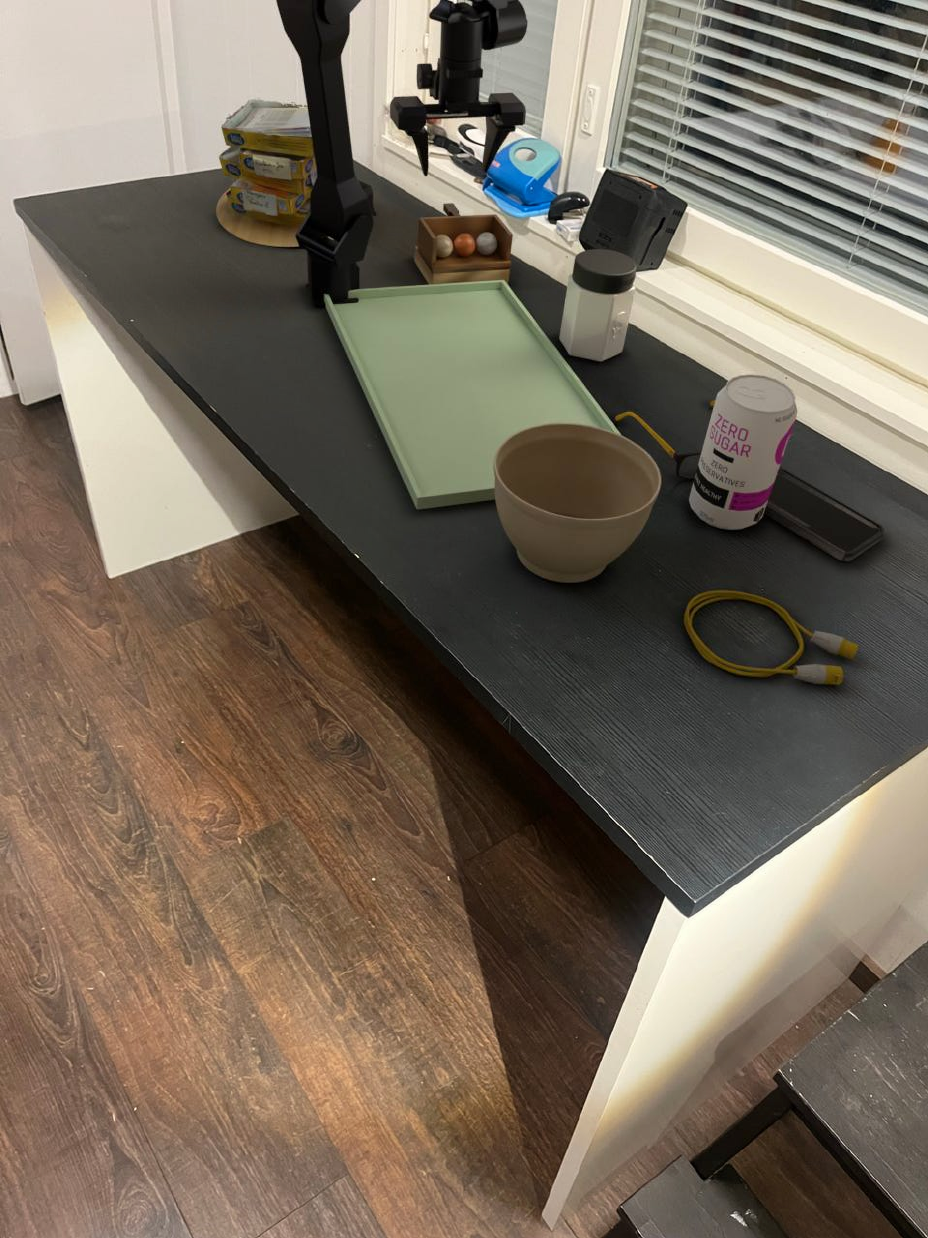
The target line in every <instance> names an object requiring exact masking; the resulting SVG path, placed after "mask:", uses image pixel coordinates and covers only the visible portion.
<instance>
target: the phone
mask: <svg viewBox="0 0 928 1238" xmlns="http://www.w3.org/2000/svg"><path fill="white" fill-rule="evenodd" d="M763 515H765V516H767V517H769V518H770V519H772V520H773V521H775V522H777V523H778V524H780V525H782V527H784V528H786V529H787V530H790V531H791V532H793V533H794V534H796V535H797V536H799V537H801V538H803V539H804V540H806V541H807V542H809V543H810V544H812V545H813V546H816V547H817V548H819V549H820V550H822V552H823V551H824V552H825V553H827V554H828V555H830V556H831V557H833V558H835V559H836V560H838V561H840V562H851V561H854V560H855V559H857V558H858V557H859V556H861V555H862V554H863V553H865V552H866V551H868V550H870V549H871V548H873V547H874V546H875V545H876V544H878V543H880V542H881V540H882V538H883V536H884V534H885V529H884V527H883V526H882V525H880V524H879V523H877V522H876V521H874V520H872V519H870V518H869V517H867V516H865V515H863V514H862V513H860V512H858V511H856V510H855V509H853V508H852V507H849V506H848V505H847V504H844V503H843V502H841V501H840V500H838V499H836V498H834V497H833V496H832V495H829V494H827V493H826V492H824V491H823V490H821V489H819V488H817V487H815V486H814V485H812V484H811V483H809V482H807V481H805V480H804V479H802V478H800V477H798V476H797V475H795V474H794V473H792V472H790V471H788V470H786V469H785V468H783V467H781V466H780V467H779V470H778V473H777V475H776V478H775V481H774V484H773V487H772V490H771V493H770V496H769V499H768V502H767V505H766V507H765V510H764V513H763Z"/></svg>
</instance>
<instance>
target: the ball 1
mask: <svg viewBox="0 0 928 1238" xmlns="http://www.w3.org/2000/svg"><path fill="white" fill-rule="evenodd" d="M436 238H437V248H436V256H437V257H439V258H445V257H447V256H449V255H450V253H451V252H452V249H453V244H452V241H451V239H450V238H449V237H448V236H446V235H438V236H436Z"/></svg>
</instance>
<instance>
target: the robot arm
mask: <svg viewBox="0 0 928 1238" xmlns="http://www.w3.org/2000/svg"><path fill="white" fill-rule="evenodd" d="M275 1H276V6H277V10H278V13H279V17H280V20H281V23H282V26H283V30H284V32H285V34H286V36H287V38H288V39H289V41H290V43H291V45H292V46H293V48H294V50H295V52H296V54H297V55H298V57H299V61H300V67H301V73H302V74H301V75H302V81H303V87H304V94H305V100H306V106H307V107H306V108H308V115H309V121H310V128H311V135H312V142H313V149H314V155H315V162H316V169H317V178H316V180H315V183H314V185H313V188H312V190H311V193H310V212H309V213H308V215H307V216H306V218H305V220H304V221H303V223H302V224H301V226H300V228H299V229H298V231H297V233H296V235H295V237H296V239H297V242H298V245H299V246H298V247H299V248H300V249H304V250H305V251H306V262H307V265H306V266H307V283H306V284H305V290H306V292H307V294H308V297H309V299H310V301H311V304H312V306H313V307H315V308H320V307H325V306H326V303H325V301H324V294H327V295H329V297H330V299H331V301H332V303H333V304H347V303H358V302H359V299H358V298H348V292H349V291H350V290H355V289H360V265H359V264H358V263H359V262H361V261H362V262H363V261H364V259H365V256H366V252H367V249H368V248H367V247H368V244H369V240H370V236H371V233H372V232H373V228H374V217H376V216H377V213H376V210H375V207H374V191H373V190H374V189H373V187H372V185H370V184H369V183H366V182H364V181H362V180H360V179H358V177H357V175H356V173H355V166H354V155H353V148H352V140H351V139H352V138H351V132H350V131H351V129H350V122H349V114H348V105H347V98H346V89H345V88H346V87H345V79H344V70H343V63H342V62H343V61H342V55H343V52H344V50H345V47H346V44H347V41H348V39H349V36H350V33H351V32H350V31H351V13H352V12H353V11H354V10H355V8H356V7H357V6H358V5H359V3H361V1H362V0H275ZM467 1H468V2H471V4H470V3H468V2H465V1H459V2H454V1H453V0H439V2H438V3H437V5H436V6H435V7H433V8H432V9H431V11H430V12H429V14H428V18H429V19H430V20H433V21H436V22H439V23H440V39H439V41H440V42H439V57H437V61H436V69H433V65H432V63H430V62H428V63H417V64H416V87H417V90H428V92H429V97H430V98H432V99H433V100H434V101H438V102H437V103H424V102H423V101H422V100H421V99H420V97H419V96H418V95H407V96H406V95H405V96H394V97H392V100H391V101H390V103H389V118H390V119H391V121H392V122H393V124H394V125H395V127H397V130H400V131H403V132H404V133H405V135H406V136H408V137H411V140H412V142H413V144H414V147H415V149H416V154H417V157H418V161H419V164H420V168H421V171H422V174H423V176H424V177H428V174H429V165H430V164H429V163H430V162H429V158H430V156H429V155H430V154H429V131H428V130H427V129H426V127H425V126H426V125H427V121H428V120H448V119H469V118H470V119H471V118H475V119H476V118H485V128H486V132H485V139H484V146H483V152H482V153H483V154H482V172H483V173H484V174H487V173H488V172H489V169H490V168H491V166H492V164H493V162H494V160H495V157H496V156H497V154H498V152H499V150H500V149H501V147H502V145H503V143H504V142H505V141H506V139H507V137H508V136H509V134H510V133H513V132H516V130H517V126H524V125H526V118H527V117H526V116H527V109H526V105H525V104H524V102H523V101H521V99H520V98H518V97H517V95H516V94H515V93H514V92H496V93H495V92H494V93H493V92H490V94H489V96H488V98H487V101H480V88H481V79H483V77H484V69H483V68H482V53H483V51H492V50H495V49H499V48H500V49H501V48H503V47H504V48H505V47H508V46H512V45H517V44H519V43H520V42H521V41H523V39H524V38H525V36H526V33H527V30H528V22H529V21H528V19H527V14H526V10H525V8H524V6H523V4H522V3H521V1H520V0H467ZM328 237H330V238H332V239H334V240H332V239H330V238H328Z"/></svg>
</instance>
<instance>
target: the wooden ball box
mask: <svg viewBox="0 0 928 1238" xmlns="http://www.w3.org/2000/svg"><path fill="white" fill-rule="evenodd" d="M442 210H443V212H444V213H445V215H446V216H428V217H427V216H426V217H418V225H417V226H418V227H417V228H418V229H417V246H418V248H417V251H418V252H419V254H420V256H421V257H422V259H423V260H424V262H425V263H426V265H427V266H428V268H429V269H430V271H431V273H432V274H442V273H458V272H475V271H491V270H507V269H510V270H511V269H512V261H511V254H512V248H513V247H512V246H513V236H514V234H513V233H512V231H511V230H510V229H509V228H508V227H507V226H506V224H505V223H504V222H503V221H502V220H501V218H500V217H499V216H498V215H497V214H474V215H461V214H460V210H459V209H458V208H457V206H456V205H455V204H454V203H453V202H450V203H443V205H442ZM482 233H491V234H493V235H494V236H495V238H496V240H497V248H496V250H495V251H494V253H492V254H491V255H482V254H481V253H479V252H478V250H477V248H476V240H477V238H478V237H479V235H481V234H482ZM460 234H468V235H470V236H471V237H472V238H473V239H474V241H475V249H474V251H473V253H472V254H471V255H469V256H466V257H463V256H460V255H458V254H457V253H456V251H455V249H454V241H455V239H456V237H457V236H459V235H460ZM438 235H446V236H448V237H449V238H450V239H451V241H452V244H453V249H452V252H451V253H450V255H449V256H447V257H445V258H439V257H437V256H436V248H437V238H436V236H438Z"/></svg>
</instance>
